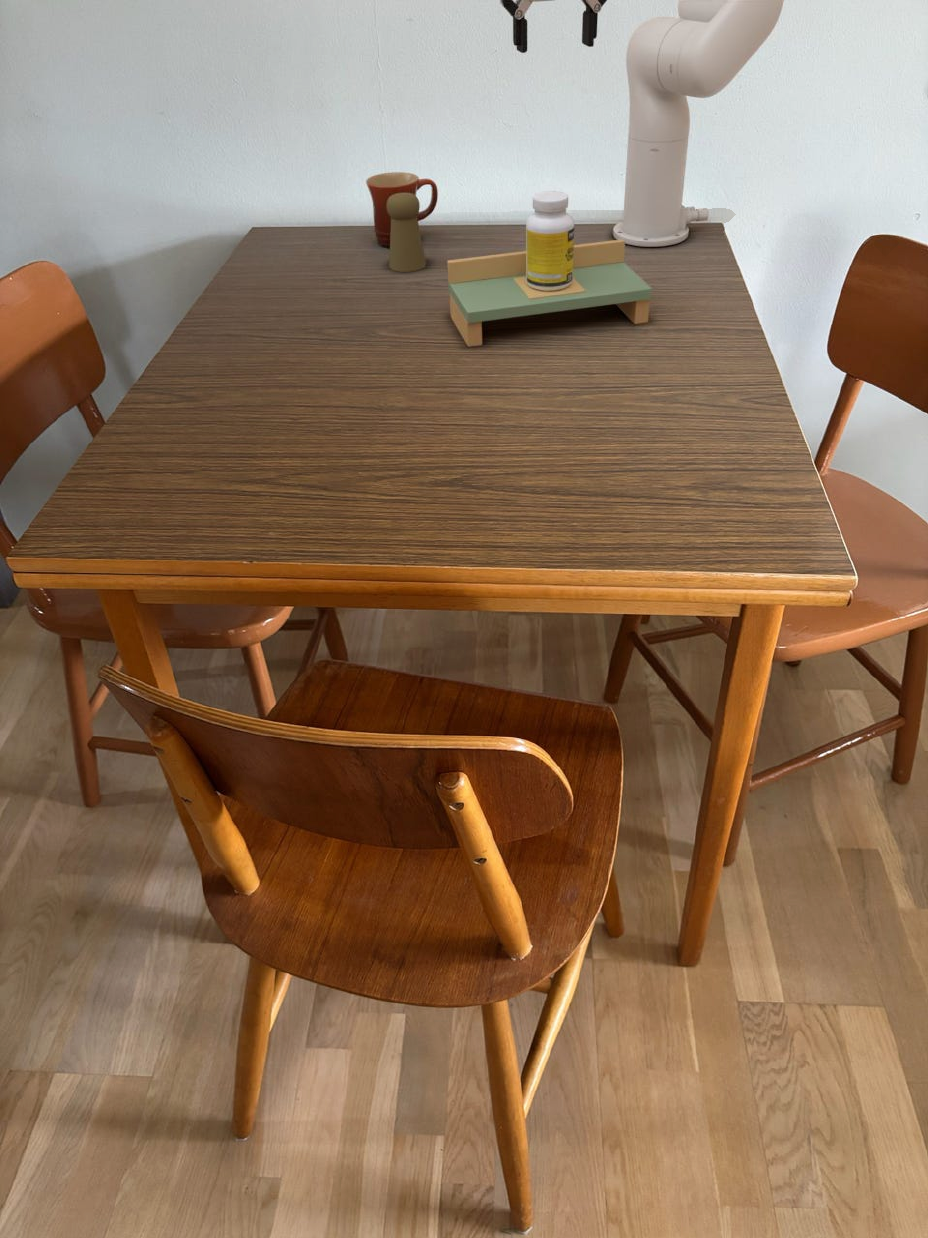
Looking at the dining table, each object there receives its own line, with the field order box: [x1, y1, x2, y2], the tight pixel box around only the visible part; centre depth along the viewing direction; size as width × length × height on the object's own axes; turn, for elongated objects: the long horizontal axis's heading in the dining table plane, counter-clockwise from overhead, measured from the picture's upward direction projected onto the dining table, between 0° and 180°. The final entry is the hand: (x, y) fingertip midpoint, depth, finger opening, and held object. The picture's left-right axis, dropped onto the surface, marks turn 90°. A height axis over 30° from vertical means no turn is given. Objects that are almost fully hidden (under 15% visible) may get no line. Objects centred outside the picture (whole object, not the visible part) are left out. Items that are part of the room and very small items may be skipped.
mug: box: [365, 171, 439, 249], centre depth 162 cm, size 12×9×10 cm
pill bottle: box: [525, 190, 575, 291], centre depth 129 cm, size 6×6×12 cm
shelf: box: [446, 239, 653, 348], centre depth 134 cm, size 26×12×8 cm, turn 103°
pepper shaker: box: [386, 193, 427, 273], centre depth 153 cm, size 6×6×11 cm
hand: (554, 47), depth 134 cm, fingers open, 9 cm apart
